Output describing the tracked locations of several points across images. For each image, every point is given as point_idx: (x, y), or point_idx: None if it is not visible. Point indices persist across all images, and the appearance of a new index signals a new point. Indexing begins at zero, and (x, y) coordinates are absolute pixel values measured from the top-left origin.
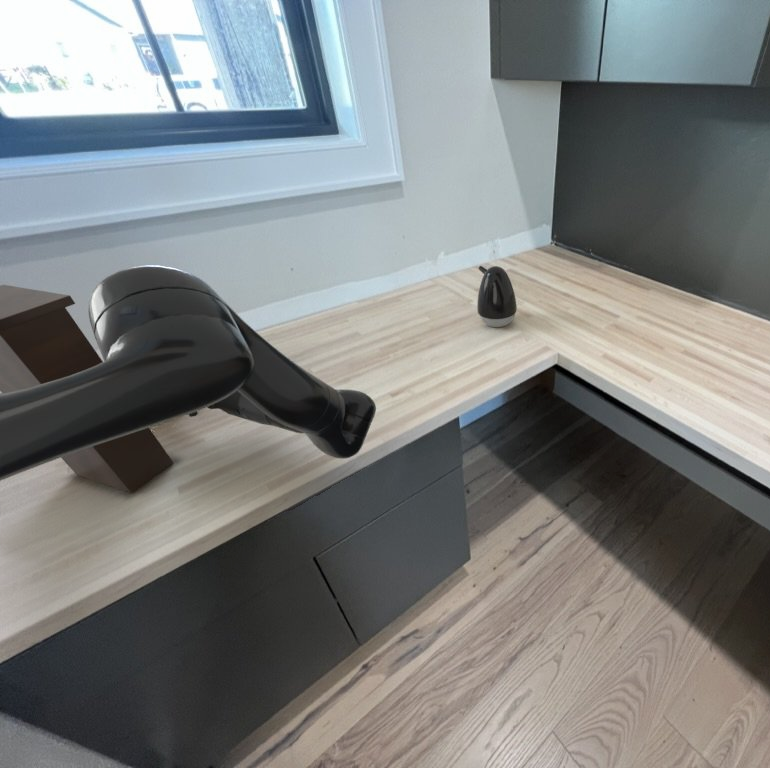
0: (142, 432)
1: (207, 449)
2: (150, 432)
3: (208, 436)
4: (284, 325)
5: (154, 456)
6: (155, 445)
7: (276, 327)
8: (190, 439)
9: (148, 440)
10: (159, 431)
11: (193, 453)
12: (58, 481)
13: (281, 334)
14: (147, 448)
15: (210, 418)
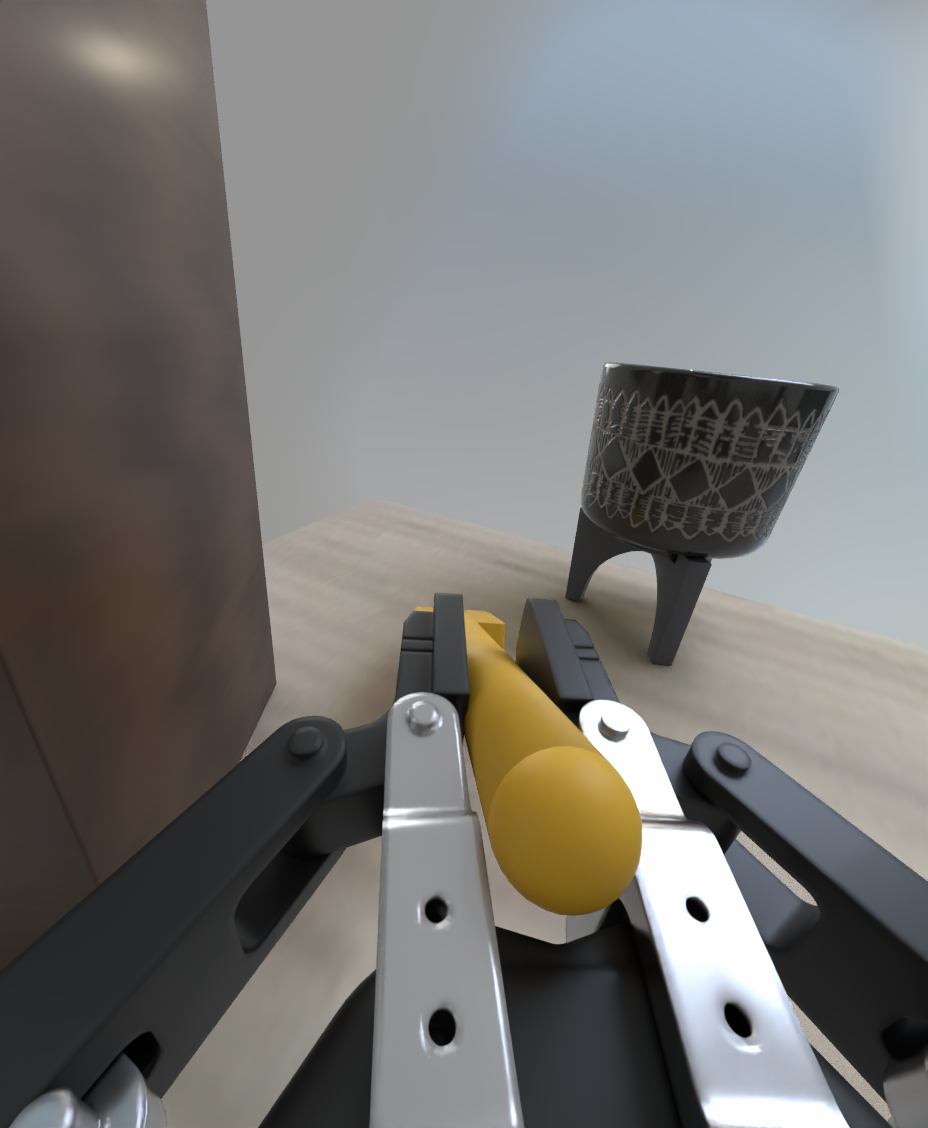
0: (8, 798)
1: (252, 1112)
2: (60, 821)
3: (373, 969)
4: (924, 650)
5: (45, 919)
6: (65, 886)
7: (892, 640)
8: (337, 884)
9: (33, 848)
10: (365, 722)
11: (216, 1032)
12: None
13: (911, 673)
14: (16, 875)
15: (488, 838)
